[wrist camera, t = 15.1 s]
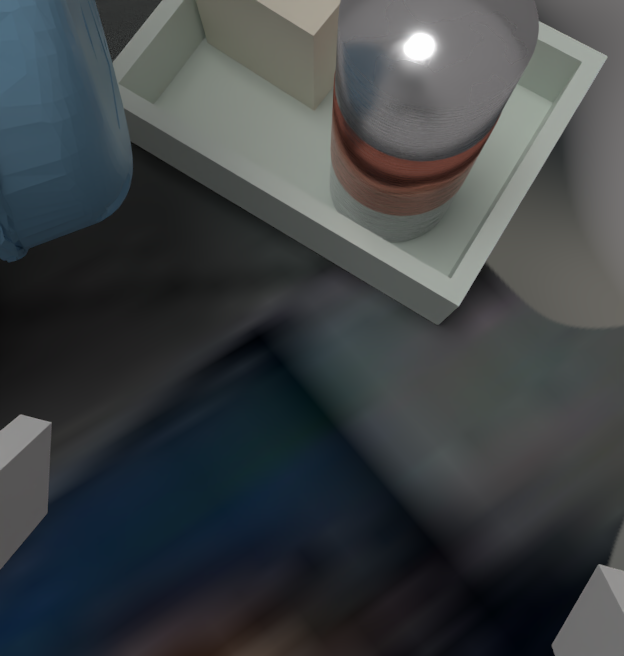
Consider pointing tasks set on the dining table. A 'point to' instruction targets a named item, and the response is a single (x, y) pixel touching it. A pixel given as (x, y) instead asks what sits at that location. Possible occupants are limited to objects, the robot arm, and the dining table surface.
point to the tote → (315, 157)
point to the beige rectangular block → (278, 41)
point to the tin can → (419, 103)
